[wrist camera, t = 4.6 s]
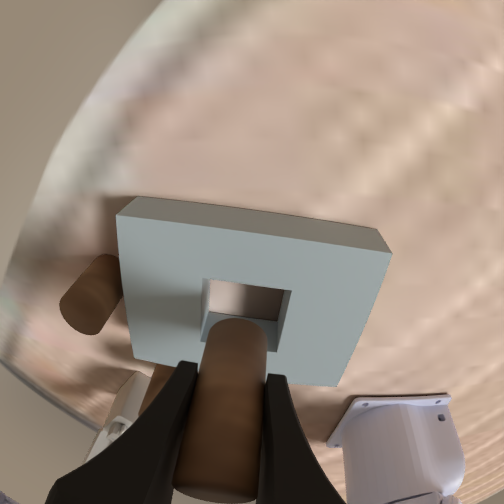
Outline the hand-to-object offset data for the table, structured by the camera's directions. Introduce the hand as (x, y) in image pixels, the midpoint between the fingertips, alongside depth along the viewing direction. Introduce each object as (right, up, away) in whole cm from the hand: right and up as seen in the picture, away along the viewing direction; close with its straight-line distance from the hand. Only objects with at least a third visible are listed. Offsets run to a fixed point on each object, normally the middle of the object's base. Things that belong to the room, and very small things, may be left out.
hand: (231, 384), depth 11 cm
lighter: (-9, -7, +12) cm, 16 cm away
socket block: (0, +3, +6) cm, 7 cm away
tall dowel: (0, +1, +2) cm, 2 cm away
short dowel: (-8, +4, +6) cm, 10 cm away
